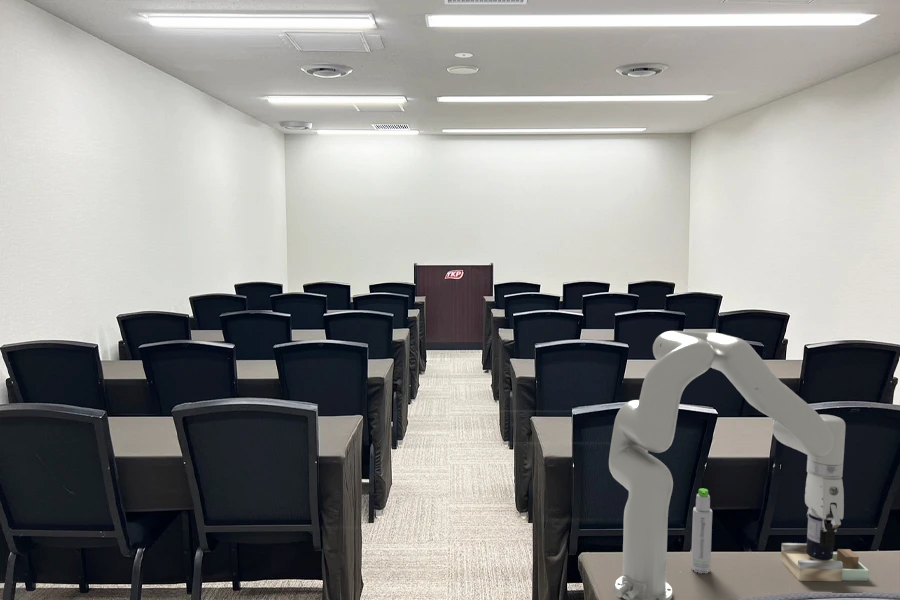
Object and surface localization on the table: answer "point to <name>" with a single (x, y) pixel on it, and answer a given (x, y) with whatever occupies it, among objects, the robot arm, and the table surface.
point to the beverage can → (817, 539)
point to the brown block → (847, 558)
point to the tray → (854, 572)
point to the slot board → (809, 564)
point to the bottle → (701, 533)
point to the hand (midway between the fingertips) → (820, 539)
